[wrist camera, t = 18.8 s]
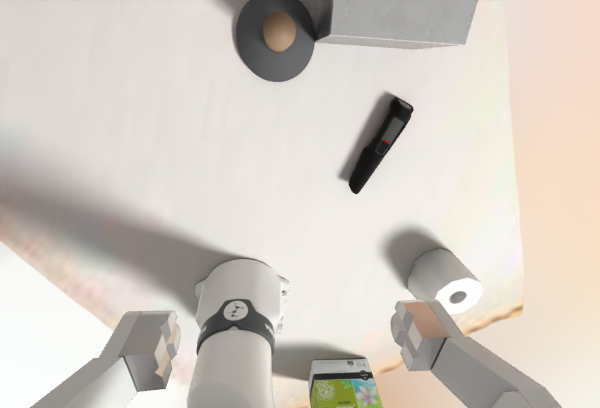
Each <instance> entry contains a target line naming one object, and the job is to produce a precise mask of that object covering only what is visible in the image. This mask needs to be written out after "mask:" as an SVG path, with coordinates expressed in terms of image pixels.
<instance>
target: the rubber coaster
mask: <svg viewBox="0 0 600 408" xmlns="http://www.w3.org/2000/svg"><path fill="white" fill-rule="evenodd" d="M276 11H281V12H284V13H286V14H288V15H289V16H290V17H291V18H292V20H293V22H294V24H295V29H296V34H295V39H294V41H293V43H292V44H291V45H290V46H289V47H288V48H287V49H285V50H284V51H283V52H281V53H274V52H272V51H270V50H269V49H268V47H267V45H266V42H265V38H264V34H263V26H264V22H265V20H266V18H267V17H268V16H269V15H270V14H271V13H273V12H276ZM236 36H237V44H238V49H239V51H240V54H241V56H242V59H243V60H244V62H245V64H246V65H247V66H248V67H249V69H250V70H251V71H252V72H253V73H255V74H256V75H257V76H259V77H261V78H263V79H265V80H268V81H273V82H282V81H287V80H290V79H292V78H294V77H296V76H297V75H298V74H300V73H301V72H302V71H303V70H304V69H305V67H306V66H307V64H308V63H309V61H310V59H311V56H312V54H313V50H314V43H315V33H314V27H313V23H312V20H311V17H310V15H309V13H308V11H307V10H306V8H305V7H304V6H303V4H302V3H301V2H300V1H299V0H250V1H249V2H248V3H247V4H246V5H245V7H244V8H243V10H242V12H241V14H240V16H239V19H238V23H237V35H236Z"/></svg>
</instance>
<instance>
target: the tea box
mask: <svg viewBox="0 0 600 408" xmlns="http://www.w3.org/2000/svg"><path fill="white" fill-rule="evenodd" d="M308 384H309V395H310V404H311V408H383V406H382V403H381V400H380V397H379V394H378V390H377V387H376V384H375V381H374V378H373V374H372V371H371V369H370V366H369V363H368V360H367V358H366V359H353V360H350V359H347V360H312V364H311V371H310V377H309V382H308Z"/></svg>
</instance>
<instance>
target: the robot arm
mask: <svg viewBox="0 0 600 408" xmlns="http://www.w3.org/2000/svg"><path fill="white" fill-rule="evenodd" d="M283 290H284V291H283ZM289 291H290V283H289V282H288V281H287V280H285V279H283V278H281V277H279V276H278V275H277V274H276V273H275V272H274V271H273V270H272V269H271V268H270V267H268V266H267V265H265V264H263V263H261V262H258V261H255V260H250V259H236V260H231V261H227V262H225V263H223V264H221V265H219V266H217V267H216V268H215V269H214V270H213V271H212V272H211V273H210V275H209V276H208V277H207V278H206V279H205V280H203V281H201V282H199V283H198V284H196V286H195V290H194V292H195V294H196V296H197V299H198V301H199V304H198V309H197V314H196V322H198V326H199V327H200V329H201V332H200V334H199V337H198V342H197V356H198V357H197V361H196V365H195V369H194V373H193V377H192V381H191V385H190V389H189V394H188V398H187V408H275V404H274V397H273V385H272V366H271V357H272V355H273V352H274V345H275V337H274V334H275V333H276V334H280V333H281V332H282V321H283V316H282V313H283V310H284V307H285V304H286V300H287V297H288V294H289ZM395 309H396V311H397V312H396V313H395V314H394V315H393V316H392V319H391V331H392V335H393V338H394V340H395V342H396V343H397V344H398V345H400V346H401V347H402V349H401V356H402V358H403V360H404V362H405V364H406V366H407V368H408V371H425V370H426V371H427V370H432V371H431V372H432V373H433V374H434V375H435V376H436V377H437V378H438V379H439V380H440V381H441V382H442V383H443V384H444V385H445V386H446V387H447V388H448V389H449V390H450V391H451V392H452V393H453V394H454V395H455V396H456V397H457V398H458V399H459V400H461V401H462V402H463V404H464V405H465V406H467V407H468V408H561V406H560V405H559V404H558V402H557V401H556V400H555V399H554V398H553V396H552V395H551V394H550V393H549V392H548V391H547V389H546V388H545V387H543V386H541V385H540V384H539V383H537V382H536V381H534V380H533V379H531V378H530V377H528V376H527V375H525V374H524V373H522V372H521V371H519V370H518V369H516V368H515V367H513V366H512V365H510V364H509V363H507V362H506V361H504V360H503V359H501V358H500V357H498V356H497V355H495V354H494V353H492V352H491V351H490V350H488V349H486V348H485V347H484V346H482V345H481V344H479V343H478V342H476V341H475V340H473V339H472V338H470V337H465V336H464V335H463V333H462V332H461V331H460V329H459V328H458V326H457V325H456V324H455V322H454V321H453V319H452V318H451V317H450V315H449V314H448V312H447V311H446V310H445V308H444V307H443V305H442V304H441V303H440V301H438V300H437V299H432V300H407V301H398V302H397V303H396V306H395ZM176 319H177V315H176V312H175V311H130V312H127V313H126V314H125V315H124V316H123V317H122V319H121V320H120V322H119V324H118V326H117V327H116V329H115V331H114V332H113V334H112V336H111V338H110V339H109V341H108V343H107V344H106V346H105V348H104V350H103V351H102V353H101V355H100V356H99V358H94V359H92V360H91V361H90V362H88V363H87V364H86V365H85V366H83V367H82V368H81V369H79V370H78V371H77V372H75V373H74V374H73V375H71V376H70V377H69V378H68V379H66V380H65V381H64V382H62V383H61V384H60V385H59V386H57V387H56V388H55V389H54V390H52V391H51V392H50V393H48V394H47V395H46V396H44V397H43V398H42V399H41V400H39V401H38V402H37V403H35V404H34V405H33V406H32V407H30V408H125V407H126V406H127V405H128V404H129V403H130V401H131V400H132V399H133V398H134V397H135V396H136V395H137V392H139V391H148V390H159V389H165V388H166V386H167V383H168V380H169V376H170V373H171V370H172V365H171V360H172V359H173V358H174V357H175V356H176V355H177V351H178V348H179V343H180V328H179V326H178V325H177V324H176V323H175V322H176Z"/></svg>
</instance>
